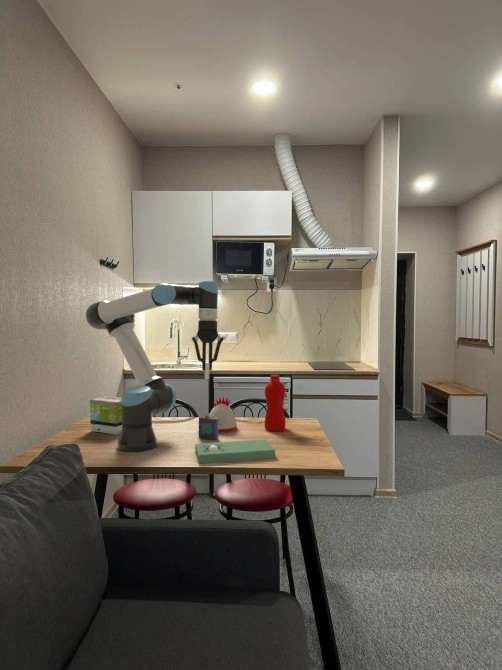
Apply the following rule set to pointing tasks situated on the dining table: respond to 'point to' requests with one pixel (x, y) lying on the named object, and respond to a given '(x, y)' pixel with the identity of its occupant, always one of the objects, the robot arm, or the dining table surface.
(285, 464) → the dining table surface
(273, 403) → the water bottle
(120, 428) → the tea box
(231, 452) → the putting mat
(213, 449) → the ball
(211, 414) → the kitchen timer
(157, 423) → the dining table surface
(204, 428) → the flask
